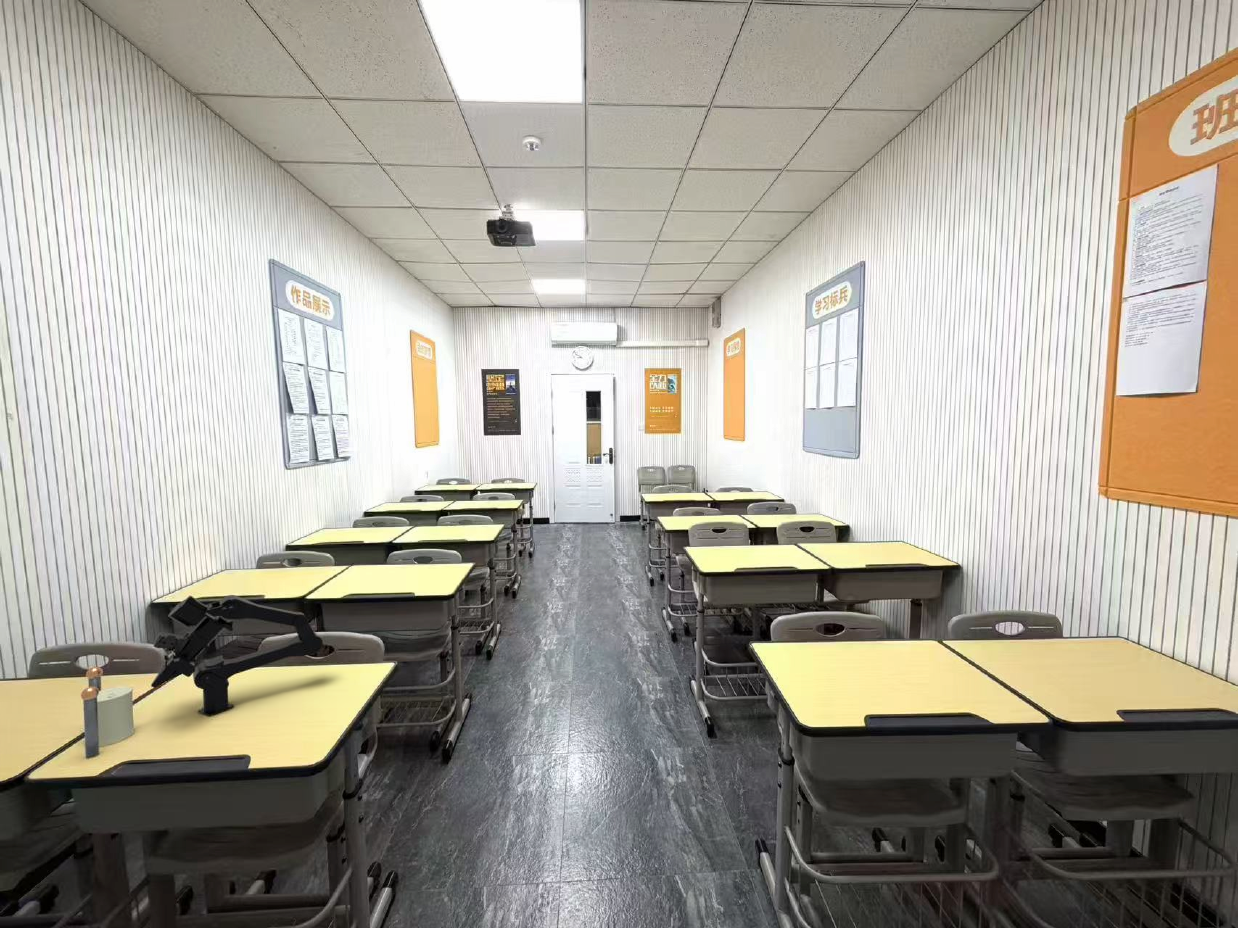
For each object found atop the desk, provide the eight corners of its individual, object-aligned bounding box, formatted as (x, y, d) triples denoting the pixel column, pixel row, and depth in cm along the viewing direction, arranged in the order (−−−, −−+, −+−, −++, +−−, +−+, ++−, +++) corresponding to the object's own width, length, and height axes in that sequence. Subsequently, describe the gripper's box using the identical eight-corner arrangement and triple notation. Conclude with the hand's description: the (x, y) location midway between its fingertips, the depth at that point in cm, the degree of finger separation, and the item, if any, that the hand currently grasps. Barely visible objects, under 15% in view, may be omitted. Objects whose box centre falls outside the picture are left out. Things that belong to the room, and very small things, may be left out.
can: (92, 751, 134) (90, 703, 134) (80, 741, 139) (78, 694, 139) (140, 734, 142) (138, 688, 142) (127, 725, 147) (125, 681, 146)
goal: (101, 755, 132) (98, 687, 132) (82, 760, 130) (80, 691, 129) (105, 725, 147) (102, 663, 147) (88, 729, 145) (86, 667, 145)
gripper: (173, 613, 156) (123, 661, 149) (177, 628, 142) (121, 682, 135) (209, 633, 161) (162, 681, 154) (215, 650, 147) (164, 703, 140)
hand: (152, 686), depth 146 cm, fingers closed
